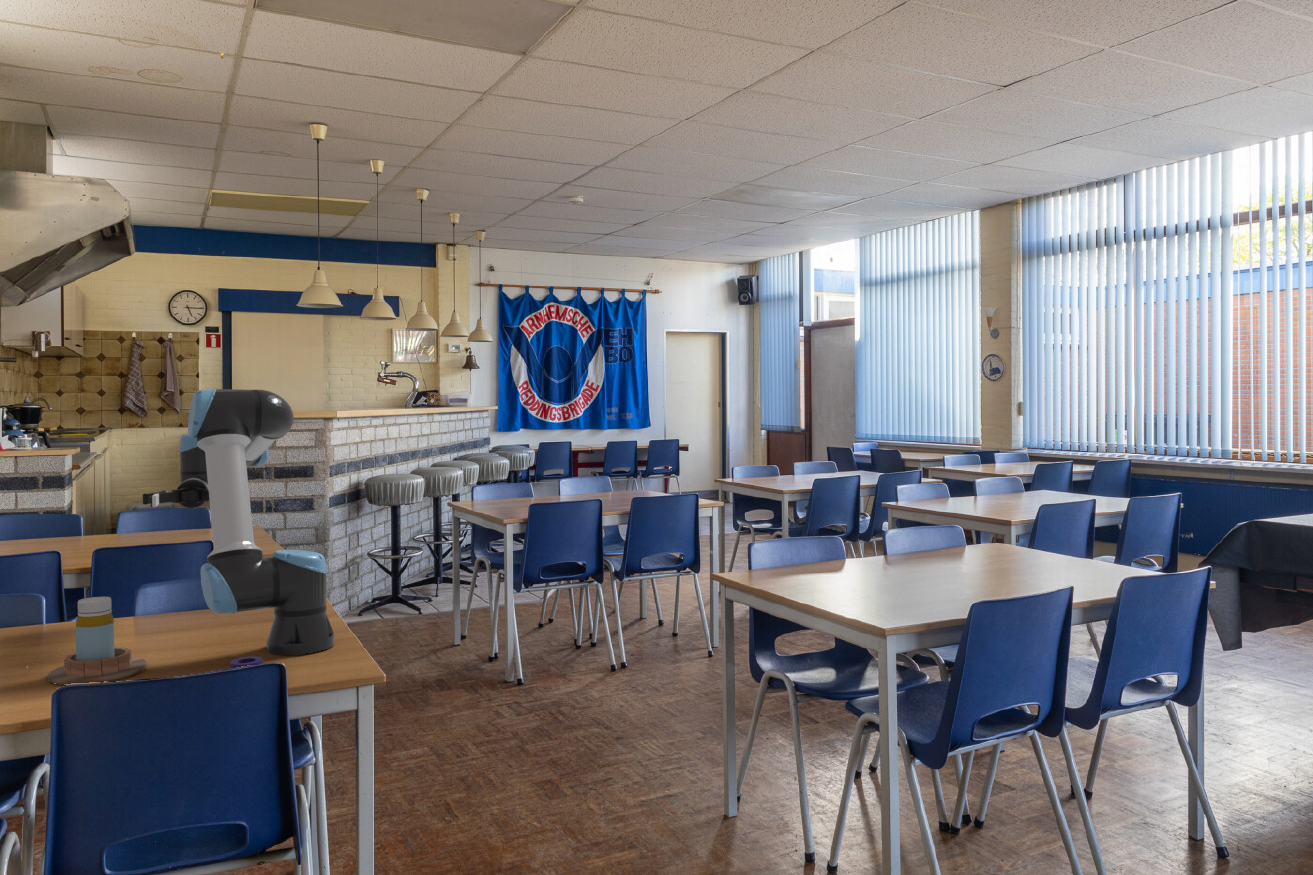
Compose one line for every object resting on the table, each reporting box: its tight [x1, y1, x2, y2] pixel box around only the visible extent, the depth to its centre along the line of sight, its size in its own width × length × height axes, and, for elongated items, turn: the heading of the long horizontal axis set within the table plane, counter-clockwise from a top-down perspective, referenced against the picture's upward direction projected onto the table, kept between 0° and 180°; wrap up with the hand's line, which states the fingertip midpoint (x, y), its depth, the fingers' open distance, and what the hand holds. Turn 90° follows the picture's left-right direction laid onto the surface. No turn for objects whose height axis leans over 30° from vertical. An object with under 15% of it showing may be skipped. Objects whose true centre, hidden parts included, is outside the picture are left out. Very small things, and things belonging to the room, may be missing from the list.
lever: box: [230, 656, 264, 669], centre depth 189 cm, size 12×6×3 cm, turn 166°
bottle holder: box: [47, 646, 147, 686], centre depth 193 cm, size 18×18×4 cm
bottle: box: [75, 596, 115, 661], centre depth 192 cm, size 7×7×15 cm
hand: (185, 500), depth 218 cm, fingers open, 13 cm apart
